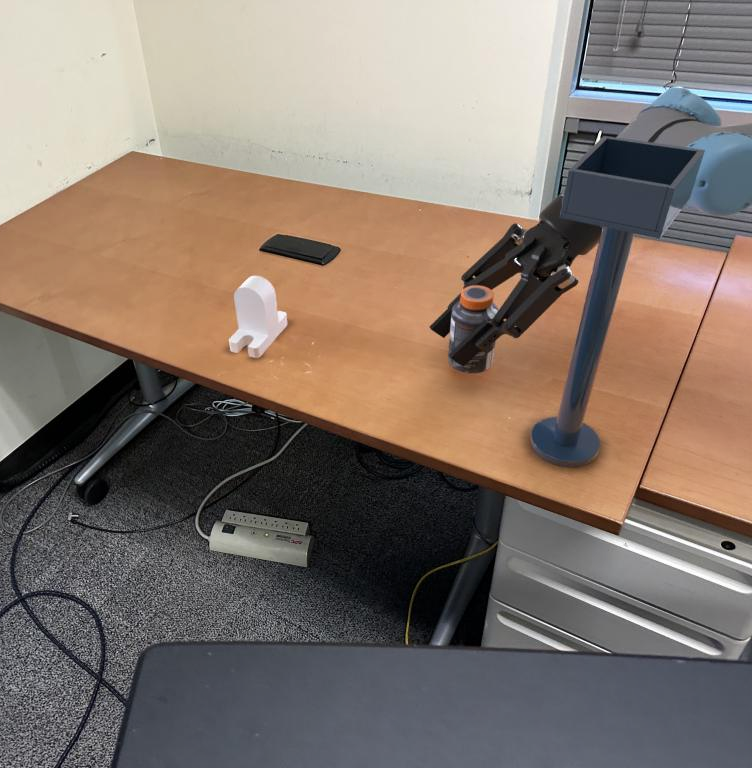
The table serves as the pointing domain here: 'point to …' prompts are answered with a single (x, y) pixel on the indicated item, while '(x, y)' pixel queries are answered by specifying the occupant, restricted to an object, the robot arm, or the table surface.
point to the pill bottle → (472, 325)
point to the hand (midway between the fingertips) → (446, 346)
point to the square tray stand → (610, 263)
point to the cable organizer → (256, 317)
